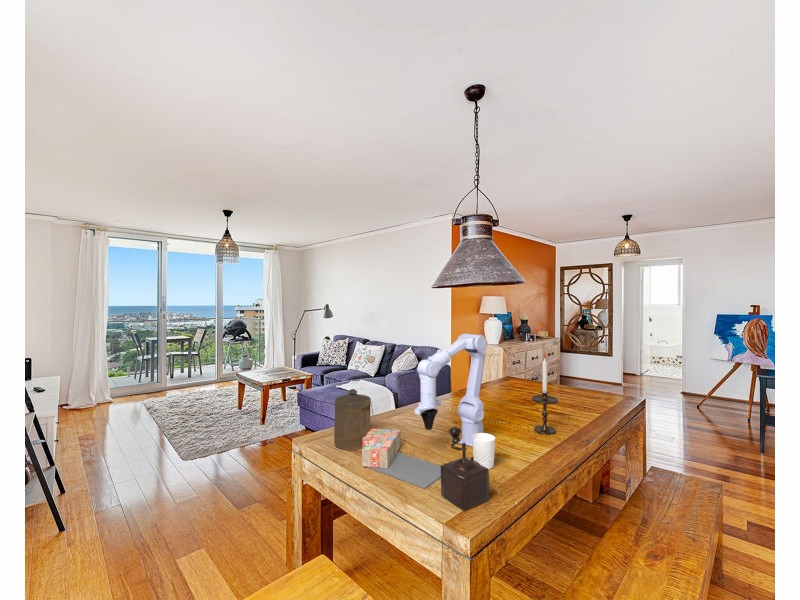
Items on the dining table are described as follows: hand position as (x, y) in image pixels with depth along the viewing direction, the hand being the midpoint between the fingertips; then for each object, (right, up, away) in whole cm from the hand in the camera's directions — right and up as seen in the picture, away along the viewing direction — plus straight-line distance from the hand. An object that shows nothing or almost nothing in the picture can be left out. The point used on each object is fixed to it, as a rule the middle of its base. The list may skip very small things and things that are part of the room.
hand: (428, 429), depth 141 cm
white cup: (+19, -11, -7) cm, 23 cm away
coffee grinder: (+7, -11, -26) cm, 29 cm away
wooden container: (-30, -11, +14) cm, 35 cm away
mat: (-7, -11, -10) cm, 16 cm away
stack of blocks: (-12, -7, 0) cm, 14 cm away
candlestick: (+53, -10, +26) cm, 60 cm away
